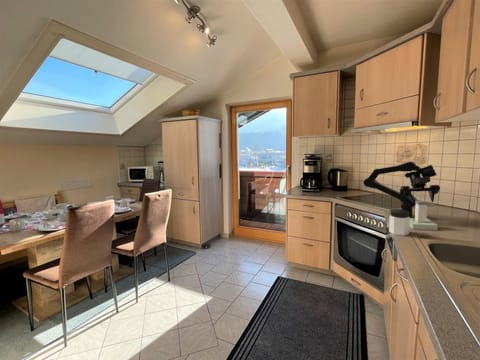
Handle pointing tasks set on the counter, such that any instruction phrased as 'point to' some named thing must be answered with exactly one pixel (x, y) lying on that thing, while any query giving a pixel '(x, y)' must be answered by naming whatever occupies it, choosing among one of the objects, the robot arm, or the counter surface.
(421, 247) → the counter surface
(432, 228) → the socket
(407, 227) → the jar
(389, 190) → the robot arm
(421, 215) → the plug
